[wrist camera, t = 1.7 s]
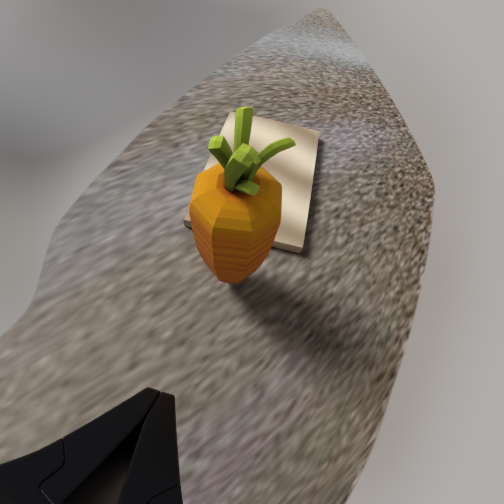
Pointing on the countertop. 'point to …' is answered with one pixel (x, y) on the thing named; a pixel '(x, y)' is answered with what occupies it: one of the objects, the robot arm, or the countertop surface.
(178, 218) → the countertop surface
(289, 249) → the cutting board
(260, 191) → the carrot
